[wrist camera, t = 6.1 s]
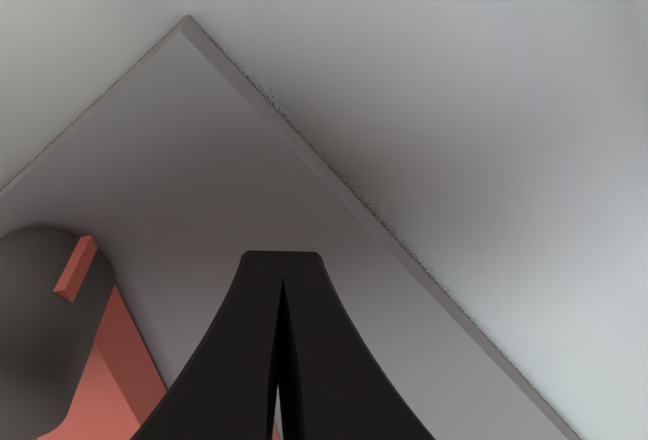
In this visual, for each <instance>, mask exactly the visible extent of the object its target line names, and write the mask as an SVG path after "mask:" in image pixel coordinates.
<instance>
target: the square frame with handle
mask: <svg viewBox="0 0 648 440" xmlns="http://www.w3.org/2000/svg"><path fill="white" fill-rule="evenodd" d="M166 392H167V391H166V389H165V387H164V385H163V383H162V381H161V379H160V377H159V374H158V372H157V370H156V368H155V366H154V364H153V362H152V360H151V358H150V356H149V354H148V352H147V350H146V347H145V345H144V343H143V341H142V339H141V337H140V335H139V333H138V331H137V329H136V327H135V325H134V323H133V320H132V318H131V316H130V314H129V312H128V310H127V308H126V306H125V304H124V302H123V300H122V298H121V296H120V294H119V291H118V289H117V287H116V285H115V276H114V271H113V269H112V266H111V264H110V263H109V261H108V259H107V258H106V257H105V255H104V254H103V253H102V252H101V251H100V250H99V249H98V248H97V246H96V244H95V242H94V240H93V237H92V235H88V236H82V237H80V236H79V235H76V234H74V233H72V232H69V231H66V230H62V229H58V228H53V227H44V226H35V227H26V228H22V229H18V230H15V231H13V232H11V233H9V234H7V235H5V236H4V237H3V238H1V239H0V440H31V439H35V438H37V439H38V440H130V438H131V437H132V436H133V435H134V434H135V433H136V431H137V430H138V429H139V428H140V426H141V425H142V424H143V423H144V421H145V420H146V419H147V417H148V416H149V415H150V414H151V412H152V411H153V410H154V408H155V407H156V406H157V405H158V403H159V402H160V400H161V399H162V398H163V396H164V395H165V394H166ZM272 440H280V439H279V436H278V433H277V430H276V427H275V424H274V427H273V436H272Z"/></svg>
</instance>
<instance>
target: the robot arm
mask: <svg viewBox="0 0 648 440" xmlns="http://www.w3.org/2000/svg"><path fill="white" fill-rule="evenodd" d="M277 389H278V390H279V401H280V413H281V424H282V435H283V440H436V439H435V438H434V437H433V436H432V434H431V433H430V432H429V431H428V430H427V429H426V427H425V426H424V425H423V424H422V422H421V421H420V420H419V419H418V417H417V416H416V415H415V414H414V412H413V411H412V410H411V409H410V407H409V406H408V405H407V403H406V402H405V401H404V399H403V398H402V397H401V395H400V394H399V393H398V391H397V390H396V389H395V387H394V386H393V384H392V383H391V382H390V380H389V379H388V377H387V376H386V374H385V373H384V371H383V370H382V369H381V367H380V366H379V364H378V363H377V361H376V360H375V358H374V357H373V355H372V354H371V352H370V350H369V349H368V347H367V346H366V344H365V343H364V341H363V339H362V337H361V336H360V334H359V332H358V331H357V329H356V327H355V326H354V324H353V322H352V320H351V319H350V317H349V315H348V313H347V312H346V310H345V308H344V306H343V304H342V302H341V300H340V298H339V296H338V294H337V292H336V290H335V288H334V286H333V284H332V282H331V280H330V277H329V275H328V273H327V270H326V268H325V265H324V262H323V259H322V257H321V256H320V255H319V254H318V253H317V252H305V251H258V250H248V251H246V252H245V253H244V254H243V255H242V256H241V259H240V263H239V266H238V269H237V272H236V274H235V277H234V279H233V281H232V284H231V286H230V288H229V290H228V292H227V294H226V296H225V298H224V300H223V302H222V304H221V306H220V308H219V310H218V312H217V313H216V315H215V317H214V319H213V321H212V322H211V324H210V326H209V328H208V330H207V331H206V333H205V335H204V337H203V338H202V340H201V341H200V343H199V345H198V346H197V348H196V349H195V351H194V352H193V354H192V355H191V357H190V358H189V360H188V362H187V363H186V365H185V366H184V368H183V369H182V371H181V372H180V374H179V375H178V377H177V378H176V380H175V381H174V383H173V384H172V385H171V387H170V388H169V390H168V391H167V392H166V394H165V395H164V396H163V398H162V399H161V400H160V402H159V403H158V405H157V406H156V407H155V408H154V410H153V411H152V412H151V414H150V415H149V416H148V417H147V419H146V420H145V421H144V423H143V424H142V425H141V426H140V428H139V429H138V430H137V431H136V433H135V434H134V435H133V436H132V437H131V438H130V440H272V436H273V427H274V417H275V408H276V399H277Z"/></svg>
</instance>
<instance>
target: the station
mask: <svg viewBox="0 0 648 440" xmlns="http://www.w3.org/2000/svg"><path fill="white" fill-rule="evenodd" d="M35 226H44V227H53V228H58V229H62V230H66V231H69V232H72V233H74V234H76V235H79V236H80V237H82V236H88V235H92V237H93V240H94V242H95V244H96V246H97V248H98V249H99V250H100V251H101V252H102V253H103V254H104V255H105V257H106V258H107V259H108V261H109V263H110V264H111V266H112V269H113V271H114V276H115V285H116V287H117V289H118V291H119V294H120V296H121V298H122V300H123V302H124V304H125V306H126V308H127V310H128V312H129V314H130V316H131V318H132V320H133V323H134V325H135V327H136V329H137V331H138V333H139V335H140V337H141V339H142V341H143V343H144V345H145V347H146V350H147V352H148V354H149V356H150V358H151V360H152V362H153V364H154V366H155V368H156V370H157V372H158V374H159V377H160V379H161V381H162V383H163V385H164V387H165V389H166V391H168V390H169V388H170V387H171V385H172V384H173V383H174V381H175V380H176V378H177V377H178V375H179V374H180V372H181V371H182V369H183V368H184V366H185V365H186V363H187V362H188V360H189V358H190V357H191V355H192V354H193V352H194V351H195V349H196V348H197V346H198V345H199V343H200V341H201V340H202V338H203V337H204V335H205V333H206V331H207V330H208V328H209V326H210V324H211V322H212V321H213V319H214V317H215V315H216V313H217V312H218V310H219V308H220V306H221V304H222V302H223V300H224V298H225V296H226V294H227V292H228V290H229V288H230V286H231V284H232V281H233V279H234V277H235V274H236V272H237V269H238V266H239V263H240V259H241V256H242V255H243V254H244V253H245V252H246V251H248V250H258V251H305V252H317V253H318V254H319V255H320V256H321V257H322V259H323V262H324V265H325V268H326V270H327V273H328V275H329V277H330V280H331V282H332V284H333V286H334V288H335V290H336V292H337V294H338V296H339V298H340V300H341V302H342V304H343V306H344V308H345V310H346V312H347V313H348V315H349V317H350V319H351V320H352V322H353V324H354V326H355V327H356V329H357V331H358V332H359V334H360V336H361V337H362V339H363V341H364V343H365V344H366V346H367V347H368V349H369V350H370V352H371V354H372V355H373V357H374V358H375V360H376V361H377V363H378V364H379V366H380V367H381V369H382V370H383V371H384V373H385V374H386V376H387V377H388V379H389V380H390V382H391V383H392V384H393V386H394V387H395V389H396V390H397V391H398V393H399V394H400V395H401V397H402V398H403V399H404V401H405V402H406V403H407V405H408V406H409V407H410V409H411V410H412V411H413V412H414V414H415V415H416V416H417V417H418V419H419V420H420V421H421V422H422V424H423V425H424V426H425V427H426V429H427V430H428V431H429V432H430V433H431V434H432V436H433V437H434V438H435V439H436V440H581V439H580V438H579V437H578V436H577V435H576V434H575V433H574V432H573V431H572V429H571V428H570V427H569V426H568V425H567V424H566V423H565V422H564V421H563V420H562V419H561V418H560V416H559V415H558V414H557V413H556V412H555V411H554V410H553V409H552V408H551V407H550V406H549V405H548V403H547V402H546V401H545V400H544V399H543V398H542V397H541V396H540V395H539V394H538V393H537V392H536V390H535V389H534V388H533V387H532V386H531V385H530V384H529V383H528V382H527V381H526V380H525V379H524V377H523V376H522V375H521V374H520V373H519V372H518V371H517V370H516V369H515V368H514V367H513V366H512V364H511V363H510V362H509V361H508V360H507V359H506V358H505V357H504V356H503V355H502V354H501V353H500V351H499V350H498V349H497V348H496V347H495V346H494V345H493V344H492V343H491V342H490V341H489V340H488V339H487V337H486V336H485V335H484V334H483V333H482V332H481V331H480V330H479V329H478V328H477V327H476V326H475V324H474V323H473V322H472V321H471V320H470V319H469V318H468V317H467V316H466V315H465V314H464V313H463V311H462V310H461V309H460V308H459V307H458V306H457V305H456V304H455V303H454V302H453V301H452V300H451V298H450V297H449V296H448V295H447V294H446V293H445V292H444V291H443V290H442V289H441V288H440V287H439V285H438V284H437V283H436V282H435V281H434V280H433V279H432V278H431V277H430V276H429V275H428V274H427V272H426V271H425V270H424V269H423V268H422V267H421V266H420V265H419V264H418V263H417V262H416V261H415V259H414V258H413V257H412V256H411V255H410V254H409V253H408V252H407V251H406V250H405V249H404V248H403V246H402V245H401V244H400V243H399V242H398V241H397V240H396V239H395V238H394V237H393V236H392V235H391V234H390V232H389V231H388V230H387V229H386V228H385V227H384V226H383V225H382V224H381V223H380V222H379V221H378V219H377V218H376V217H375V216H374V215H373V214H372V213H371V212H370V211H369V210H368V209H367V208H366V206H365V205H364V204H363V203H362V202H361V201H360V200H359V199H358V198H357V197H356V196H355V195H354V193H353V192H352V191H351V190H350V189H349V188H348V187H347V186H346V185H345V184H344V183H343V182H342V180H341V179H340V178H339V177H338V176H337V175H336V174H335V173H334V172H333V171H332V170H331V169H330V167H329V166H328V165H327V164H326V163H325V162H324V161H323V160H322V159H321V158H320V157H319V156H318V154H317V153H316V152H315V151H314V150H313V149H312V148H311V147H310V146H309V145H308V144H307V143H306V141H305V140H304V139H303V138H302V137H301V136H300V135H299V134H298V133H297V132H296V131H295V130H294V129H293V127H292V126H291V125H290V124H289V123H288V122H287V121H286V120H285V119H284V118H283V117H282V116H281V114H280V113H279V112H278V111H277V110H276V109H275V108H274V107H273V106H272V105H271V104H270V103H269V101H268V100H267V99H266V98H265V97H264V96H263V95H262V94H261V93H260V92H259V91H258V90H257V88H256V87H255V86H254V85H253V84H252V83H251V82H250V81H249V80H248V79H247V78H246V77H245V75H244V74H243V73H242V72H241V71H240V70H239V69H238V68H237V67H236V66H235V65H234V64H233V62H232V61H231V60H230V59H229V58H228V57H227V56H226V55H225V54H224V53H223V52H222V51H221V49H220V48H219V47H218V46H217V45H216V44H215V43H214V42H213V41H212V40H211V39H210V38H209V36H208V35H207V34H206V33H205V32H204V31H203V30H202V29H201V28H200V27H199V26H198V25H197V24H196V22H195V21H194V20H193V19H192V18H191V17H190V16H189V15H188V16H187V17H186V18H185V19H184V20H183V21H182V22H181V23H179V24H178V25H177V26H176V27H175V28H174V29H173V30H172V31H171V32H170V33H169V34H168V35H167V36H166V37H164V38H163V39H162V40H161V41H160V42H159V43H158V44H157V45H156V46H155V47H154V48H153V49H152V50H151V51H150V52H148V53H147V54H146V55H145V56H144V57H143V58H142V59H141V60H140V61H139V62H138V63H137V64H136V65H135V66H133V67H132V68H131V69H130V70H129V71H128V72H127V73H126V74H125V75H124V76H123V77H122V78H121V79H120V80H119V81H117V82H116V83H115V84H114V85H113V86H112V87H111V88H110V89H109V90H108V91H107V92H106V93H105V94H104V95H103V96H101V97H100V98H99V99H98V100H97V101H96V102H95V103H94V104H93V105H92V106H91V107H90V108H89V109H88V110H86V111H85V112H84V113H83V114H82V115H81V116H80V117H79V118H78V119H77V120H76V121H75V122H74V123H73V124H72V125H70V126H69V127H68V128H67V129H66V130H65V131H64V132H63V133H62V134H61V135H60V136H59V137H58V138H57V139H55V140H54V141H53V142H52V143H51V144H50V145H49V146H48V147H47V148H46V149H45V150H44V151H43V152H42V153H41V154H39V155H38V156H37V157H36V158H35V159H34V160H33V161H32V162H31V163H30V164H29V165H28V166H27V167H26V168H24V169H23V170H22V171H21V172H20V173H19V174H18V175H17V176H16V177H15V178H14V179H13V180H12V181H11V182H10V183H8V184H7V185H6V186H5V187H4V188H3V189H2V190H1V191H0V239H1V238H3V237H4V236H5V235H7V234H9V233H11V232H13V231H15V230H18V229H22V228H26V227H35ZM274 424H275V427H276V430H277V433H278V436H279V439H280V440H283V435H282V424H281V413H280V401H279V390H278V389H277V399H276V408H275V417H274Z"/></svg>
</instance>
